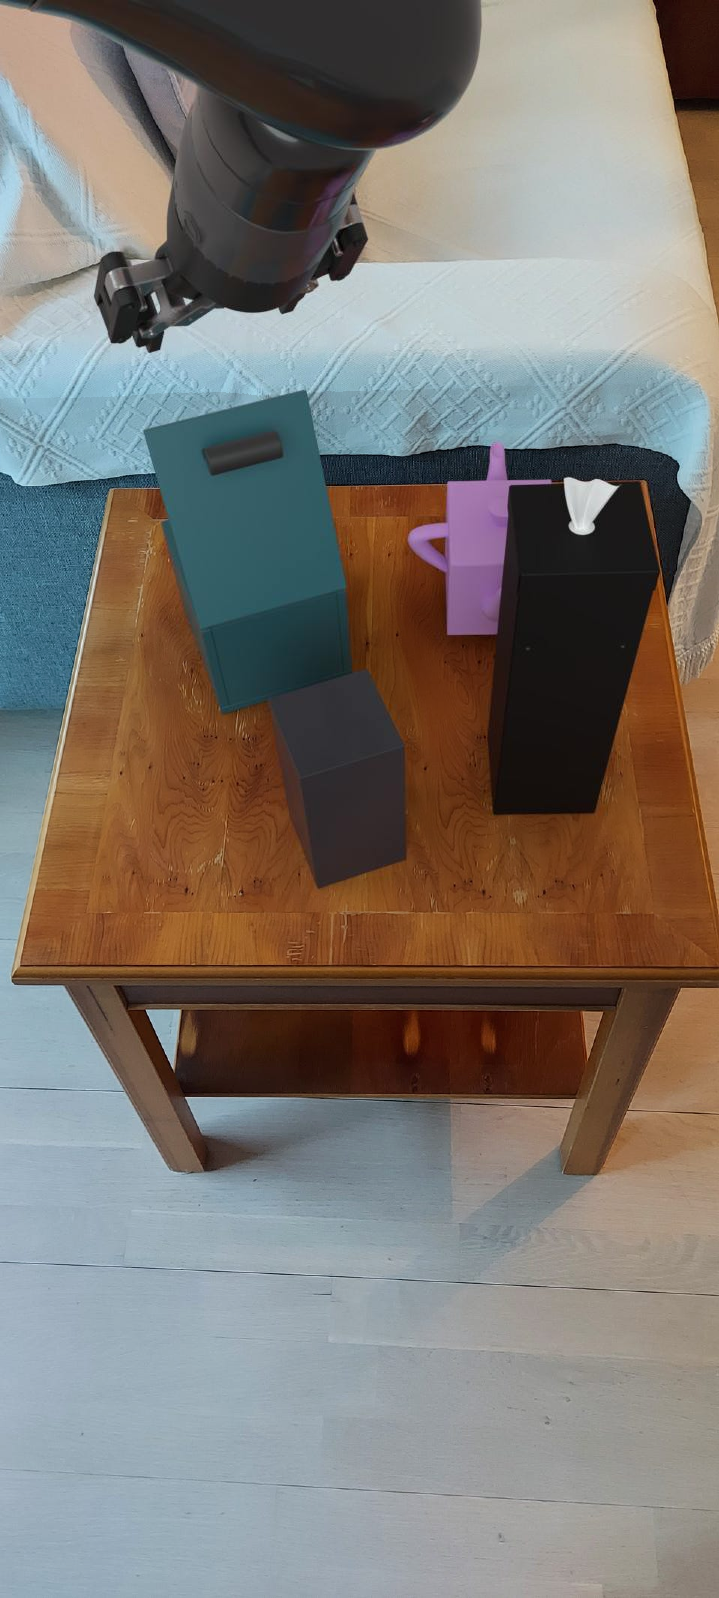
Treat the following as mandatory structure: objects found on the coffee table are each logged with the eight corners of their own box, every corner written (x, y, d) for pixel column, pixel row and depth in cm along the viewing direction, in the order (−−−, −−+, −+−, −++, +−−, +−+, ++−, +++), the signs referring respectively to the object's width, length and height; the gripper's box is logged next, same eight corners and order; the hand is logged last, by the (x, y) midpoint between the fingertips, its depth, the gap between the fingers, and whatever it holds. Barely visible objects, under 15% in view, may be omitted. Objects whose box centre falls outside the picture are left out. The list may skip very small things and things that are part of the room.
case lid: (142, 429, 68) (149, 438, 64) (304, 389, 70) (321, 395, 66) (199, 626, 75) (209, 646, 71) (344, 585, 77) (362, 602, 73)
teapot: (610, 612, 88) (632, 513, 79) (500, 689, 84) (509, 594, 75) (490, 526, 95) (498, 427, 86) (382, 594, 91) (378, 496, 82)
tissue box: (595, 815, 76) (673, 524, 53) (491, 817, 76) (524, 528, 53) (583, 734, 80) (650, 432, 57) (485, 736, 81) (513, 437, 58)
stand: (317, 889, 74) (299, 778, 62) (289, 815, 77) (267, 698, 66) (406, 859, 75) (404, 745, 63) (374, 788, 78) (367, 668, 67)
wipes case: (183, 606, 91) (160, 521, 83) (304, 572, 93) (293, 485, 85) (221, 714, 83) (201, 632, 75) (352, 675, 85) (346, 591, 77)
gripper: (376, 66, 45) (301, 221, 61) (73, 139, 42) (76, 282, 58) (428, 238, 47) (342, 346, 62) (138, 320, 44) (124, 412, 60)
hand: (214, 315), depth 60 cm, fingers open, 8 cm apart
